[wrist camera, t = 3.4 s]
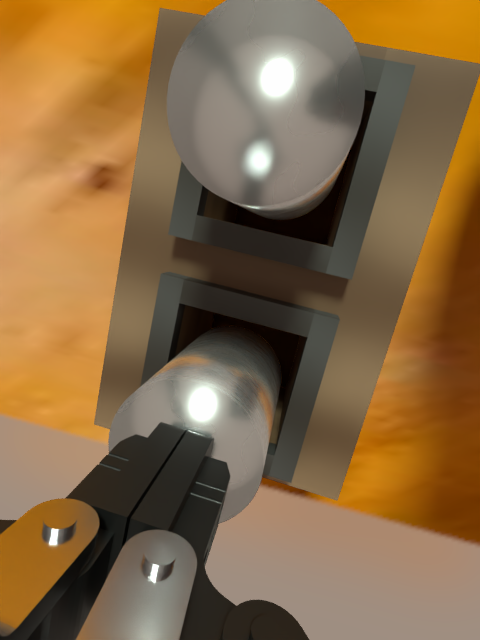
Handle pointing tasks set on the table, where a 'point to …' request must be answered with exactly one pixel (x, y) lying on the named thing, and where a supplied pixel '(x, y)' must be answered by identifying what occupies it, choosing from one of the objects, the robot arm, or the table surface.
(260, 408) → the peg
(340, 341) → the brown wooden block
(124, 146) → the table surface
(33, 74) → the table surface
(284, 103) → the peg
